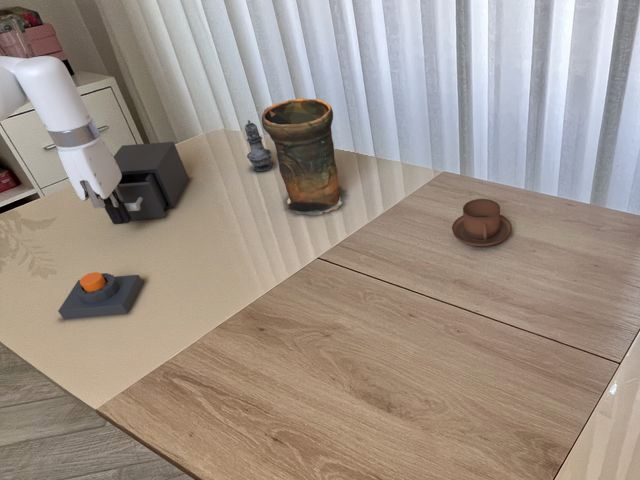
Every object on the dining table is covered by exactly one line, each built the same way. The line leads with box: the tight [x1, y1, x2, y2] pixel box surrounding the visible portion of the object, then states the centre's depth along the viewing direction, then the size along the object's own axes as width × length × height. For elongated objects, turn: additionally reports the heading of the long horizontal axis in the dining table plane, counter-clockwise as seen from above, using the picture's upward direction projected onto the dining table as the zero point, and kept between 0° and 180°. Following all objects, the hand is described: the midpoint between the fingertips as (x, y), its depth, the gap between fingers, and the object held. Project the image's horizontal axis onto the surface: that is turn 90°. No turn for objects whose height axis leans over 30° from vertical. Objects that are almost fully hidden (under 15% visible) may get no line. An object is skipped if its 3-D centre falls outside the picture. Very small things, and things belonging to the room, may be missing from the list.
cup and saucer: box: [451, 198, 512, 247], centre depth 110 cm, size 12×12×6 cm
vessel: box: [261, 97, 343, 217], centre depth 117 cm, size 14×14×20 cm
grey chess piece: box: [244, 119, 275, 173], centre depth 132 cm, size 6×6×12 cm
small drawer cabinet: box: [113, 141, 190, 210], centre depth 125 cm, size 14×12×10 cm
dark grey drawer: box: [119, 173, 167, 221], centre depth 119 cm, size 17×10×8 cm, turn 6°
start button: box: [79, 271, 106, 292], centre depth 97 cm, size 4×4×2 cm
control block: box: [57, 272, 144, 320], centre depth 99 cm, size 11×9×4 cm
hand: (122, 221), depth 112 cm, fingers closed
